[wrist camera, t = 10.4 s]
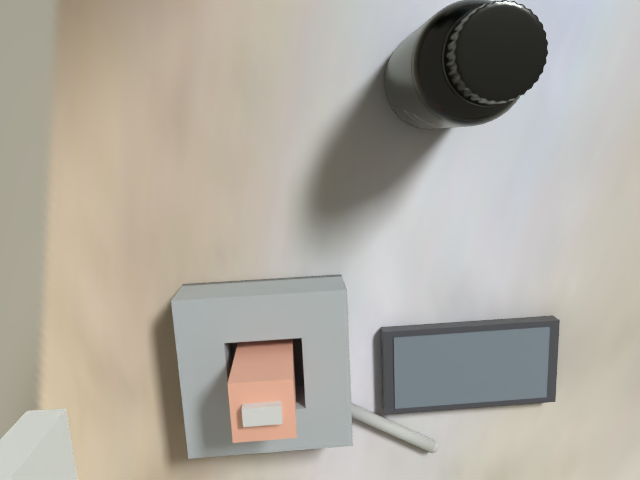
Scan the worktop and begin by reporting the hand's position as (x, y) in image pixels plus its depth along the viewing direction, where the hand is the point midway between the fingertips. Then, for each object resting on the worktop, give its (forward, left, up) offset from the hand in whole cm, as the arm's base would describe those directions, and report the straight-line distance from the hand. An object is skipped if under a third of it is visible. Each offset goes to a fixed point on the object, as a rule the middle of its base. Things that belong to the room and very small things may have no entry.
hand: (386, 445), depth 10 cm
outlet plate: (+10, -4, -27) cm, 29 cm away
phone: (+12, +12, -27) cm, 32 cm away
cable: (+17, +5, -27) cm, 32 cm away
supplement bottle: (-10, +9, -28) cm, 31 cm away
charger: (+10, -4, -27) cm, 29 cm away
